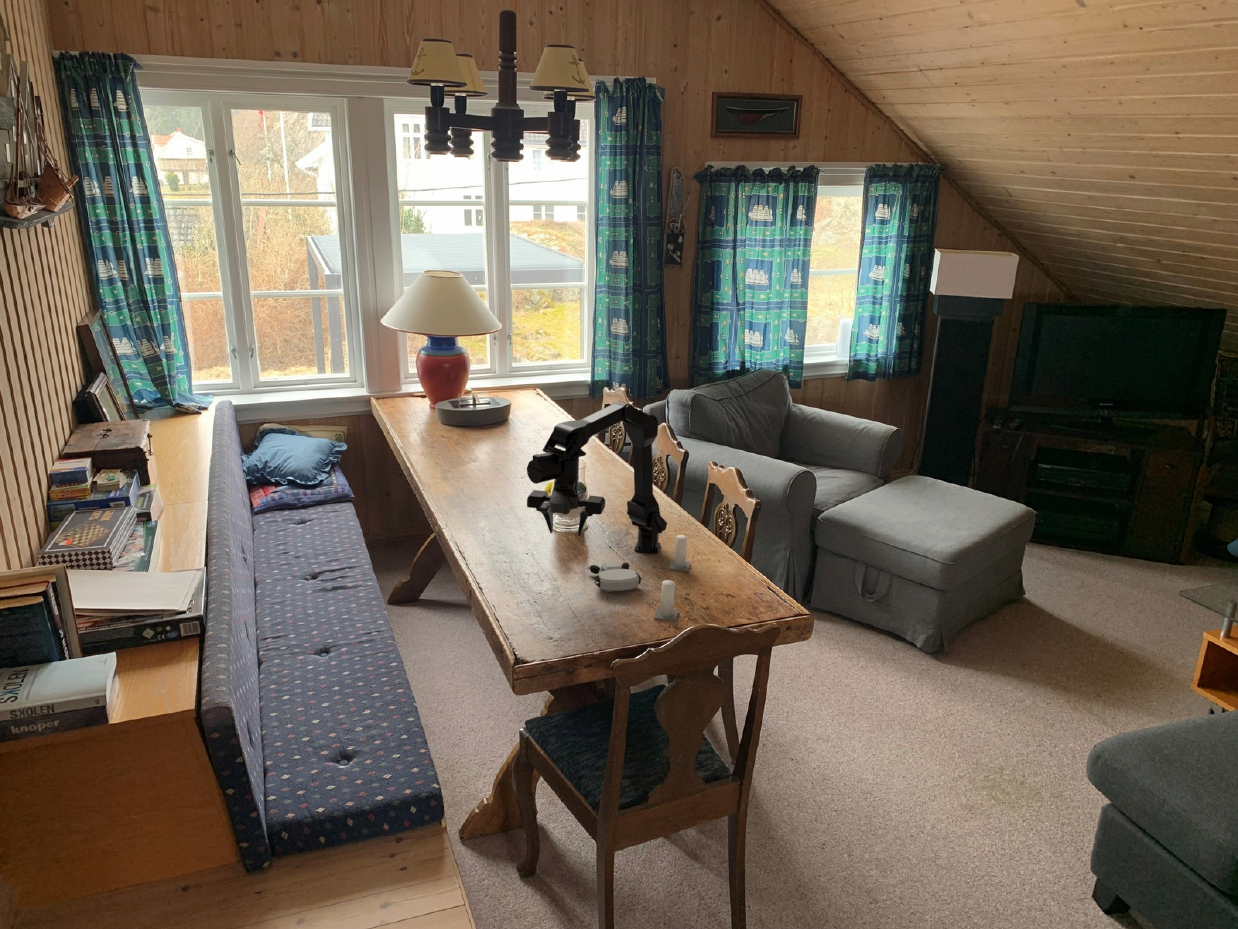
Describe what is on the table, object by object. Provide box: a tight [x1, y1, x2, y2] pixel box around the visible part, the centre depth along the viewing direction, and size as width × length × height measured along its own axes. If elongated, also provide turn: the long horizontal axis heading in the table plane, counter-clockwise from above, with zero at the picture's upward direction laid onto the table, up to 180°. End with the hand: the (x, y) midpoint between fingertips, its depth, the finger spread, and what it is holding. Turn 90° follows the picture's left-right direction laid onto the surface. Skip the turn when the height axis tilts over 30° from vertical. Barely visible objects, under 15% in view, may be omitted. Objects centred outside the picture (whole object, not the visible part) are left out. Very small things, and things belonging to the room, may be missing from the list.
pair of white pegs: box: [653, 534, 691, 623], centre depth 221 cm, size 33×5×9 cm, turn 170°
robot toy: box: [586, 560, 646, 593], centre depth 224 cm, size 12×4×15 cm
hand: (565, 534), depth 222 cm, fingers open, 7 cm apart
